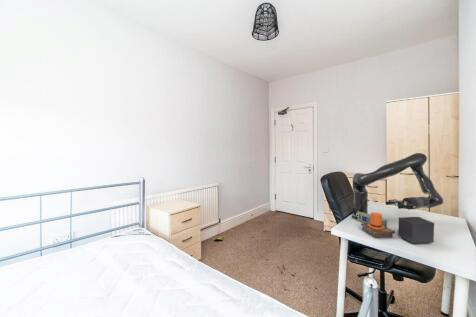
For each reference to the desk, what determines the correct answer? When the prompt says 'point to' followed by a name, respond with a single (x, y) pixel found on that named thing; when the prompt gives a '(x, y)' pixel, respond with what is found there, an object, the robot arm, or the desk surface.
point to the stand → (378, 231)
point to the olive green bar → (367, 218)
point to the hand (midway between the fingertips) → (392, 205)
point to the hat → (376, 221)
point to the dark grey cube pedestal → (416, 230)
